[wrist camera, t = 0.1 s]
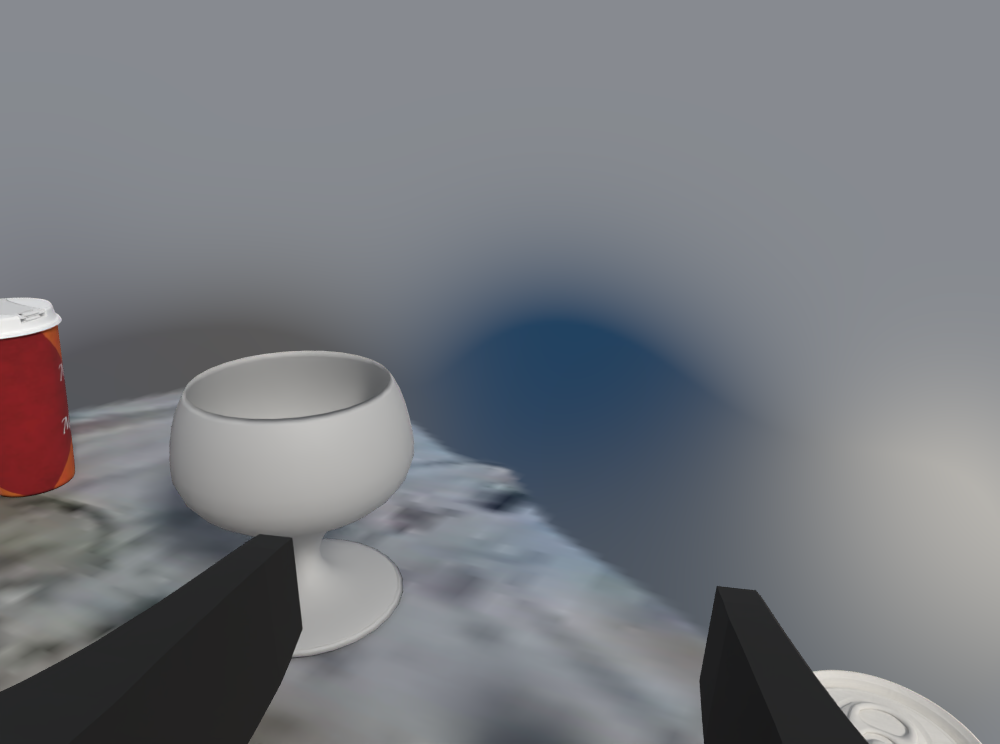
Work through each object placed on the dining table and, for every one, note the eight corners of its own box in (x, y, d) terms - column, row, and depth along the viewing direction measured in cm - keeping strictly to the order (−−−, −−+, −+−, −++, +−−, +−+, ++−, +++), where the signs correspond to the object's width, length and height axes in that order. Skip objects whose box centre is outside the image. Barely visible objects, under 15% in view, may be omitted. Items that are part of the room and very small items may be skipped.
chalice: (423, 536, 53) (419, 345, 48) (409, 673, 40) (402, 429, 35) (233, 538, 53) (209, 344, 48) (155, 677, 40) (111, 429, 35)
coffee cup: (112, 465, 63) (82, 300, 58) (31, 511, 56) (-11, 326, 51) (36, 453, 65) (1, 292, 60) (-52, 495, 58) (-99, 316, 53)
